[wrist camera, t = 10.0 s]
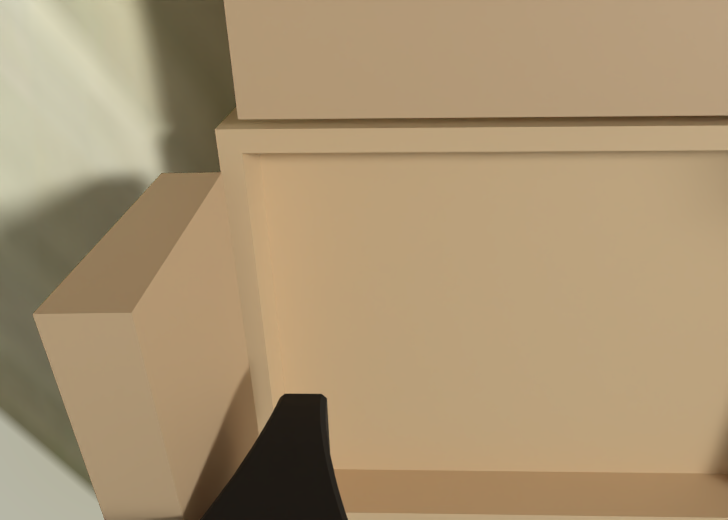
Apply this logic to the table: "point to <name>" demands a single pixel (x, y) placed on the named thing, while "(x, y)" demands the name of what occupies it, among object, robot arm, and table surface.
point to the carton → (489, 248)
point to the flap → (156, 354)
